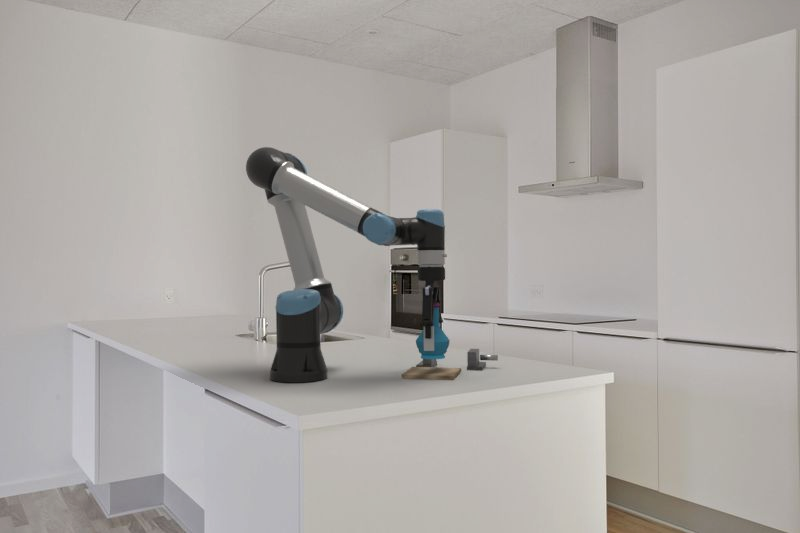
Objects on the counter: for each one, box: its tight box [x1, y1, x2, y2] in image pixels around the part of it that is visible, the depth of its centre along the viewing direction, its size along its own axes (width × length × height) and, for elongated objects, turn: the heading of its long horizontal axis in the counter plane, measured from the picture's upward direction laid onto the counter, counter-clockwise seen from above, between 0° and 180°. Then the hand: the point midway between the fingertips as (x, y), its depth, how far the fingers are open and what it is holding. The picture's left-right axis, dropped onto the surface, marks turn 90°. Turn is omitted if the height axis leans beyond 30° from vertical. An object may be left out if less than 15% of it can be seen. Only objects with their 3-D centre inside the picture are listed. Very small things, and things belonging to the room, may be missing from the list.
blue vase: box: [415, 303, 450, 360], centre depth 183 cm, size 9×9×15 cm
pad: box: [401, 366, 462, 381], centre depth 183 cm, size 14×14×1 cm
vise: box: [415, 348, 499, 371], centre depth 196 cm, size 23×10×5 cm, turn 77°
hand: (432, 348), depth 183 cm, fingers closed on blue vase, 9 cm apart
